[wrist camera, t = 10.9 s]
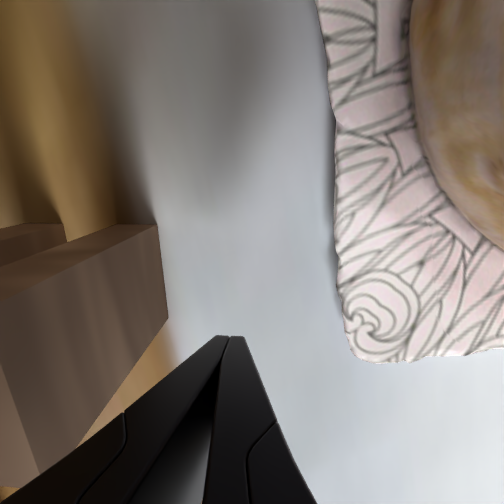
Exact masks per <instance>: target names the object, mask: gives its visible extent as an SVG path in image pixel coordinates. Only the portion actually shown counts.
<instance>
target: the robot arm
mask: <svg viewBox="0 0 504 504" xmlns="http://www.w3.org/2000/svg"><path fill="white" fill-rule="evenodd" d="M202 498H203V500H202ZM201 502H202V504H317V502H316V500H315V499H314V497H313V495H312V493H311V491H310V489H309V488H308V486H307V484H306V482H305V480H304V478H303V476H302V474H301V472H300V470H299V468H298V466H297V464H296V463H295V461H294V458H293V456H292V454H291V452H290V449H289V447H288V445H287V442H286V440H285V438H284V435H283V433H282V430H281V428H280V425H279V424H278V421H277V418H276V416H275V413H274V411H273V408H272V406H271V403H270V401H269V398H268V396H267V393H266V391H265V388H264V385H263V383H262V380H261V378H260V375H259V373H258V370H257V368H256V365H255V363H254V360H253V358H252V355H251V353H250V350H249V348H248V345H247V343H246V340H245V338H244V337H243V336H231V337H229V336H222V335H216V336H214V337H213V338H212V339H211V340H210V341H208V342H207V343H206V344H205V345H203V346H202V347H201V348H200V349H199V350H197V351H196V352H195V353H194V354H193V355H191V356H190V357H189V358H188V359H186V360H185V361H184V362H183V363H182V364H180V365H179V366H178V367H177V368H175V369H174V370H173V371H172V372H171V373H169V374H168V375H167V376H166V377H164V378H163V379H162V380H161V381H160V382H158V383H157V384H156V385H155V386H154V387H152V388H151V389H150V390H149V391H147V392H146V393H145V394H144V395H143V396H141V397H140V398H139V399H138V400H136V401H135V402H134V403H133V404H132V405H130V406H129V407H128V408H127V409H126V410H125V411H124V413H120V414H119V415H118V416H117V417H116V418H114V419H113V420H112V421H111V422H109V423H108V424H107V425H106V426H105V427H103V428H102V429H101V430H99V431H98V432H97V433H96V434H94V435H93V436H92V437H91V438H89V439H88V440H87V441H85V442H84V443H83V444H81V445H80V446H79V447H77V448H76V449H75V450H73V451H72V452H71V453H69V454H68V455H66V456H65V457H64V458H62V459H61V460H60V461H58V462H57V463H56V464H54V465H53V466H51V467H50V468H49V469H47V470H46V471H44V472H43V473H41V474H40V475H39V476H37V477H36V478H34V479H33V480H32V481H30V482H29V483H27V484H26V485H25V486H23V487H22V488H20V489H19V490H17V491H16V492H15V493H13V494H12V495H10V496H9V497H8V498H6V499H5V500H3V501H2V502H1V503H0V504H201Z"/></svg>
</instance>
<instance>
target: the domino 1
mask: <svg viewBox="0 0 504 504" xmlns="http://www.w3.org/2000/svg"><path fill="white" fill-rule="evenodd" d="M64 243H67V240H66V236H65V231H64V227H63V224H54V223H23V224H19V225H15V226H10V227H6V228H2V229H0V267H2V266H5V265H7V264H10V263H13V262H15V261H18V260H21V259H24V258H26V257H29V256H32V255H34V254H37V253H40V252H43V251H45V250H48V249H51V248H54V247H56V246H59V245H62V244H64Z"/></svg>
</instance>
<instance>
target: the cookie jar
mask: <svg viewBox="0 0 504 504" xmlns="http://www.w3.org/2000/svg"><path fill="white" fill-rule="evenodd" d="M314 1H315V4H316V7H317V12H318V17H319V22H320V27H321V33H322V37H323V42H324V46H325V51H326V56H327V71H328V91H329V98H330V104H331V107H332V109H333V112H334V115H335V117H336V133H335V151H334V155H335V168H336V175H335V195H334V221H333V226H334V239H335V247H336V252H337V254H338V275H337V283H336V287H337V292H338V295H339V297H340V299H341V301H342V316H343V319H344V329H345V334H346V336H347V338H348V342H349V345H350V350H351V351H352V352H353V354H354V355H355V356H356V357H358V358H360V359H362V360H364V361H367V362H371V363H377V364H383V363H398V362H401V361H403V360H404V361H406V362H409V363H412V362H414V361H417V360H420V359H422V358H424V357H425V356H442V357H443V356H466V355H470V354H473V353H478V352H483V351H487V350H489V349H504V0H314Z"/></svg>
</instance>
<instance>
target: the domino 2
mask: <svg viewBox="0 0 504 504" xmlns="http://www.w3.org/2000/svg"><path fill="white" fill-rule="evenodd" d="M167 319H168V310H167V301H166V293H165V285H164V277H163V268H162V260H161V252H160V244H159V235H158V227H157V224H116V225H113V226H111V227H108V228H105V229H102V230H100V231H97V232H94V233H92V234H89V235H86V236H83V237H81V238H78V239H75V240H73V241H70V242H67V243H64V244H62V245H59V246H56V247H54V248H51V249H48V250H45V251H43V252H40V253H37V254H34V255H32V256H29V257H26V258H24V259H21V260H18V261H15V262H13V263H10V264H7V265H5V266H2V267H0V486H6V487H16V488H22V487H23V486H25V485H26V484H27V483H29V482H30V481H32V480H33V479H34V478H36V477H37V476H39V475H40V474H41V473H43V472H44V471H46V470H47V469H49V468H50V467H51V466H53V465H54V464H56V463H57V462H58V461H60V460H61V459H62V458H64V457H65V456H66V455H68V454H69V453H71V452H72V451H73V450H75V448H76V447H77V446H78V444H79V443H80V441H81V440H82V439H83V437H84V436H85V434H86V433H87V431H88V430H89V429H90V427H91V426H92V424H93V423H94V422H95V420H96V419H97V417H98V416H99V415H100V413H101V412H102V410H103V409H104V408H105V406H106V405H107V403H108V402H109V401H110V399H111V398H112V396H113V395H114V394H115V392H116V391H117V389H118V388H119V387H120V385H121V384H122V382H123V381H124V380H125V378H126V377H127V375H128V374H129V373H130V371H131V370H132V368H133V367H134V366H135V364H136V363H137V361H138V360H139V359H140V357H141V356H142V354H143V353H144V352H145V350H146V349H147V347H148V346H149V345H150V343H151V342H152V340H153V339H154V337H155V336H156V335H157V333H158V332H159V330H160V329H161V328H162V326H163V325H164V323H165V322H166V321H167Z"/></svg>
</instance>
